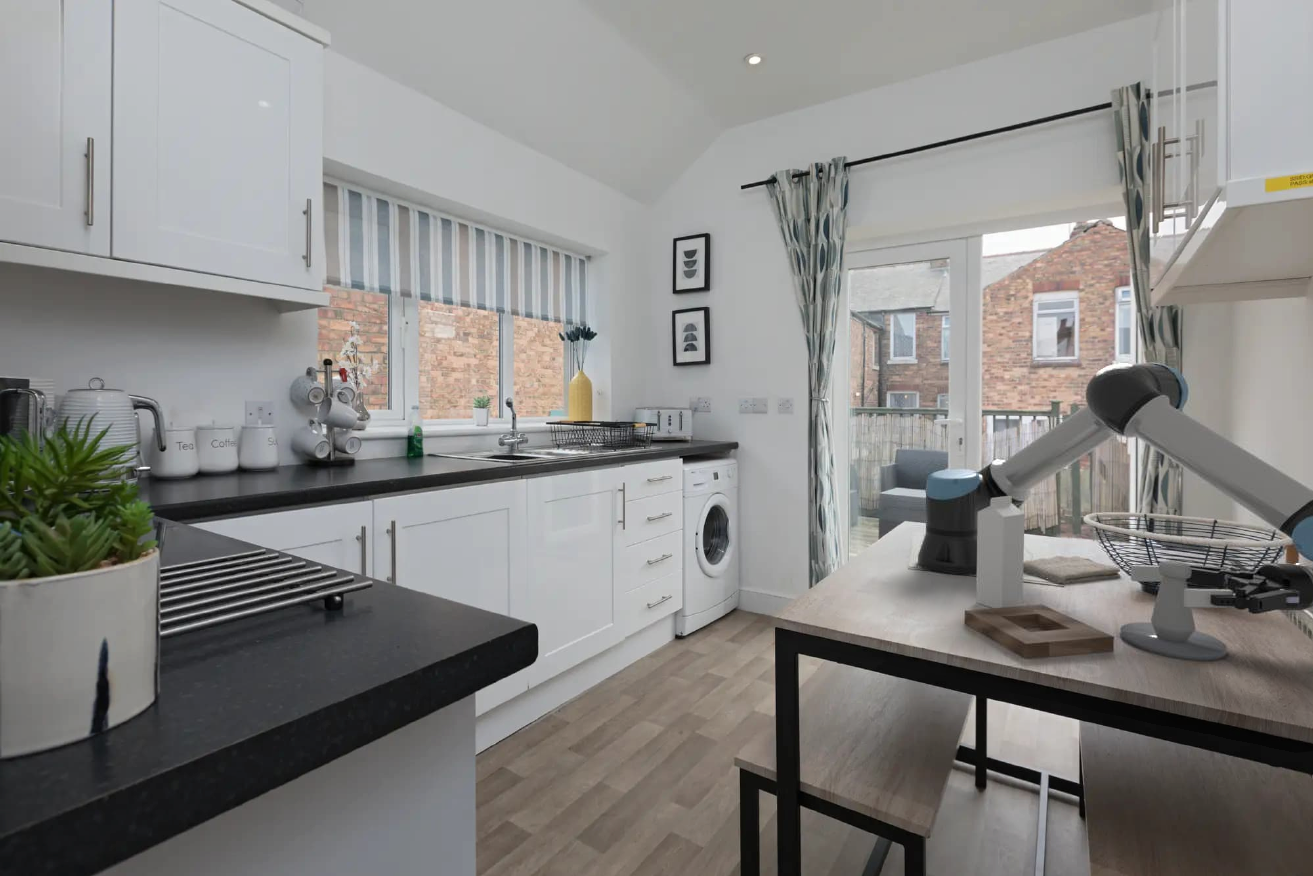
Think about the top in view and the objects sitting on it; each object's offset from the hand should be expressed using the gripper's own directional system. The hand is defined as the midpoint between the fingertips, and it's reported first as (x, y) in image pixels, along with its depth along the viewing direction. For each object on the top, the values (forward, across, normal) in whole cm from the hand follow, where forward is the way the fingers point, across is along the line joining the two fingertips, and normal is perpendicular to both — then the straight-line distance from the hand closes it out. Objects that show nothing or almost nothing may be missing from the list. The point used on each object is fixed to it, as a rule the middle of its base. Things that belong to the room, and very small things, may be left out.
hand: (1156, 584), depth 107 cm
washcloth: (-7, +42, -11) cm, 43 cm away
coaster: (-3, 0, -10) cm, 10 cm away
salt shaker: (-3, 0, -9) cm, 10 cm away
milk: (+18, +18, -10) cm, 28 cm away
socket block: (+18, +2, -10) cm, 21 cm away
